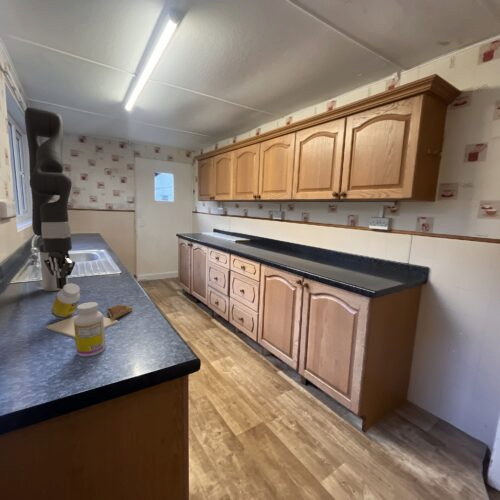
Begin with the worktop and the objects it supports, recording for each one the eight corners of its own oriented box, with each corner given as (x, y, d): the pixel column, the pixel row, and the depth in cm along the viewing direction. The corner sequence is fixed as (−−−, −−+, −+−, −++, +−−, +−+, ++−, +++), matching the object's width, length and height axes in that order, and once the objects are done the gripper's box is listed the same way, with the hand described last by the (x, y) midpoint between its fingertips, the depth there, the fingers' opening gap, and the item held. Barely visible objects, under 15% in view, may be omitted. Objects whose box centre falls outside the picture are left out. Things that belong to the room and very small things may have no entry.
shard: (112, 321, 89) (112, 315, 89) (92, 318, 90) (92, 313, 90) (133, 311, 99) (133, 306, 99) (115, 308, 101) (115, 304, 101)
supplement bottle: (84, 344, 75) (81, 300, 73) (109, 344, 76) (106, 300, 74) (71, 358, 69) (66, 310, 66) (98, 357, 69) (95, 309, 67)
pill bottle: (61, 323, 89) (71, 299, 85) (46, 311, 89) (54, 287, 85) (78, 312, 95) (87, 289, 91) (63, 302, 95) (72, 278, 91)
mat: (46, 328, 84) (46, 326, 84) (86, 313, 96) (86, 311, 96) (79, 339, 78) (79, 337, 78) (118, 322, 90) (118, 320, 89)
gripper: (31, 236, 87) (37, 288, 89) (56, 237, 81) (62, 293, 83) (56, 234, 93) (61, 283, 96) (81, 235, 88) (86, 287, 90)
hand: (62, 288), depth 90 cm, fingers closed
